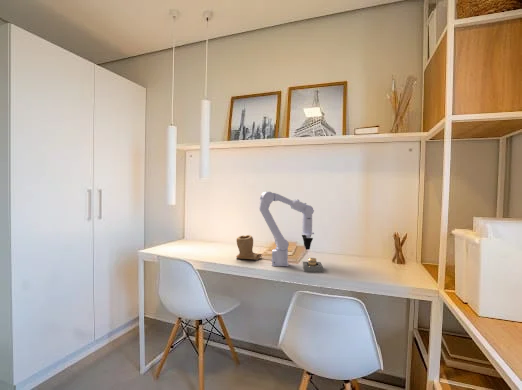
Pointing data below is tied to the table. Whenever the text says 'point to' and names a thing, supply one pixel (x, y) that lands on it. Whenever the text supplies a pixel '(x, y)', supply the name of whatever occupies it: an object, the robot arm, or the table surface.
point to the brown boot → (246, 248)
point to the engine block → (312, 267)
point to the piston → (312, 261)
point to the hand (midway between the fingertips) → (306, 248)
